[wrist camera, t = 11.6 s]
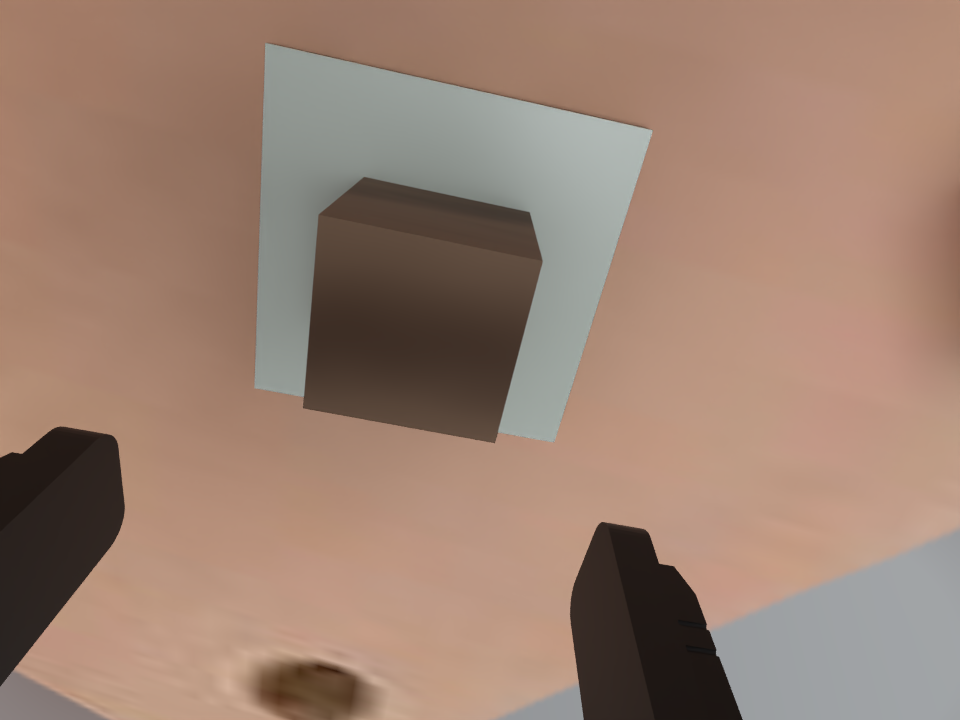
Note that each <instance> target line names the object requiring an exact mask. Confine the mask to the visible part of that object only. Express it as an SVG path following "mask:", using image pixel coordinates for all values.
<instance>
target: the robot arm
mask: <svg viewBox="0 0 960 720" xmlns="http://www.w3.org/2000/svg"><path fill="white" fill-rule="evenodd" d="M124 510H125V505H124V495H123V486H122V477H121V468H120V459H119V449H118V443H117V441H116V439H115V438H114V437H113V436H112V435H108V434H103V433H97V432H91V431H86V430H80V429H74V428H68V427H57V428H54V429H52V430H51V431H49V432H48V433H47V434H46V435H44V436H43V437H42V438H41V439H40V440H38V441H37V442H36V443H35V444H34V445H32V446H31V447H30V448H29V449H28V450H26V451H25V452H24V453H23V454H19V453H13V452H12V453H10V454H7V455H5V456H3V457H1V458H0V686H1V685H2V684H3V682H4V681H5V680H6V679H7V677H8V676H9V675H10V673H11V672H12V671H13V670H14V668H15V667H16V666H17V665H18V663H19V662H20V661H21V660H22V658H23V657H24V656H25V654H26V653H27V652H28V651H29V649H30V648H31V647H32V646H33V644H34V643H35V642H36V641H37V639H38V638H39V637H40V636H41V634H42V633H43V632H44V630H45V629H46V628H47V627H48V625H49V624H50V623H51V622H52V620H53V619H54V618H55V617H56V615H57V614H58V613H59V611H60V610H61V609H62V608H63V606H64V605H65V604H66V603H67V601H68V600H69V599H70V598H71V596H72V595H73V594H74V592H75V591H76V590H77V589H78V587H79V586H80V585H81V584H82V582H83V581H84V580H85V579H86V577H87V576H88V575H89V573H90V572H91V571H92V570H93V568H94V567H95V566H96V565H97V563H98V562H99V561H100V560H101V558H102V557H103V556H104V555H105V553H106V552H107V551H108V549H109V548H110V547H111V545H112V544H113V542H114V541H115V539H116V537H117V535H118V533H119V531H120V528H121V525H122V522H123V518H124ZM570 619H571V628H572V635H573V642H574V650H575V657H576V665H577V672H578V679H579V687H580V694H581V702H582V708H583V717H584V720H743V719H742V717H741V714H740V711H739V709H738V706H737V703H736V701H735V698H734V695H733V693H732V690H731V687H730V685H729V682H728V679H727V677H726V674H725V672H724V669H723V666H722V664H721V661H720V658H719V657H718V656H716V647H715V645H714V642H713V640H712V637H711V634H710V632H709V630H707V629H706V625H707V624H706V621H705V618H704V616H703V613H702V610H701V608H700V605H699V602H698V600H697V597H696V594H695V593H694V592H693V590H692V589H691V588H690V586H689V585H688V584H687V583H686V581H685V580H684V579H683V577H682V576H681V575H680V574H679V572H678V571H677V570H676V568H675V567H674V566H669V565H663V564H659V562H658V559H657V556H656V553H655V550H654V547H653V544H652V541H651V538H650V535H649V533H648V532H647V531H646V530H644V529H640V528H634V527H629V526H623V525H617V524H611V523H605V522H601V523H600V524H599V525H598V526H597V528H596V530H595V533H594V535H593V538H592V540H591V543H590V545H589V548H588V550H587V553H586V555H585V558H584V560H583V563H582V565H581V568H580V570H579V573H578V575H577V578H576V580H575V583H574V587H573V591H572V596H571V606H570Z"/></svg>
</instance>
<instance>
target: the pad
mask: <svg viewBox="0 0 960 720" xmlns="http://www.w3.org/2000/svg"><path fill="white" fill-rule="evenodd" d="M652 132H653V130H650V129H647V128H643V127H638V126H634V125H629V124H625V123H620V122H616V121H612V120H607V119H603V118H598V117H594V116H589V115H585V114H581V113H576V112H572V111H567V110H563V109H558V108H554V107H550V106H545V105H541V104H536V103H532V102H527V101H523V100H519V99H514V98H510V97H505V96H501V95H496V94H492V93H488V92H483V91H479V90H474V89H470V88H465V87H461V86H457V85H452V84H448V83H443V82H439V81H434V80H430V79H426V78H421V77H417V76H412V75H408V74H403V73H399V72H395V71H390V70H386V69H381V68H377V67H372V66H368V65H364V64H359V63H355V62H350V61H346V60H341V59H337V58H333V57H328V56H324V55H319V54H315V53H310V52H306V51H302V50H297V49H293V48H288V47H284V46H279V45H275V44H269V43H265V73H264V104H263V136H262V168H261V199H260V231H259V263H258V294H257V326H256V358H255V388H257V389H262V390H268V391H273V392H279V393H284V394H290V395H295V396H301V397H304V390H305V378H306V365H307V352H308V340H309V327H310V315H311V302H312V290H313V277H314V264H315V252H316V239H317V227H318V215H319V214H320V213H321V212H322V211H323V210H325V209H326V208H327V207H328V206H330V205H331V204H332V203H333V202H334V201H336V200H337V199H338V198H339V197H340V196H342V195H343V194H344V193H345V192H346V191H348V190H349V189H350V188H351V187H353V186H354V185H355V184H356V183H357V182H359V181H360V180H361V179H362V178H363V177H367V178H372V179H377V180H381V181H386V182H391V183H395V184H400V185H405V186H409V187H414V188H419V189H423V190H428V191H433V192H437V193H442V194H447V195H451V196H456V197H461V198H465V199H470V200H475V201H480V202H484V203H489V204H494V205H498V206H503V207H508V208H512V209H517V210H522V211H526V212H530V215H531V219H532V223H533V226H534V230H535V234H536V237H537V241H538V245H539V249H540V252H541V256H542V260H543V263H542V267H541V270H540V274H539V278H538V282H537V286H536V289H535V293H534V297H533V301H532V305H531V308H530V312H529V316H528V320H527V324H526V327H525V331H524V335H523V339H522V343H521V346H520V350H519V354H518V358H517V361H516V365H515V369H514V373H513V377H512V380H511V384H510V388H509V392H508V396H507V399H506V403H505V407H504V411H503V415H502V418H501V422H500V426H499V430H498V432H499V433H504V434H510V435H515V436H521V437H526V438H532V439H537V440H543V441H548V442H554V441H555V438H556V435H557V432H558V429H559V426H560V422H561V419H562V416H563V413H564V410H565V407H566V403H567V400H568V397H569V394H570V391H571V388H572V384H573V381H574V378H575V375H576V372H577V369H578V366H579V362H580V359H581V356H582V353H583V350H584V347H585V343H586V340H587V337H588V334H589V331H590V328H591V324H592V321H593V318H594V315H595V312H596V309H597V305H598V302H599V299H600V296H601V293H602V290H603V287H604V283H605V280H606V277H607V274H608V271H609V268H610V264H611V261H612V258H613V255H614V252H615V249H616V245H617V242H618V239H619V236H620V233H621V230H622V227H623V223H624V220H625V217H626V214H627V211H628V208H629V204H630V201H631V198H632V195H633V192H634V189H635V185H636V182H637V179H638V176H639V173H640V170H641V166H642V163H643V160H644V157H645V154H646V151H647V148H648V144H649V141H650V138H651V135H652Z"/></svg>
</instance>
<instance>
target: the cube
mask: <svg viewBox="0 0 960 720" xmlns="http://www.w3.org/2000/svg"><path fill="white" fill-rule="evenodd" d="M542 263H543V260H542V256H541V252H540V249H539V245H538V241H537V237H536V234H535V230H534V226H533V223H532V219H531V215H530V212H526V211H522V210H517V209H512V208H508V207H503V206H498V205H494V204H489V203H484V202H480V201H475V200H470V199H465V198H461V197H456V196H451V195H447V194H442V193H437V192H433V191H428V190H423V189H419V188H414V187H409V186H405V185H400V184H395V183H391V182H386V181H381V180H377V179H372V178H367V177H363V178H362V179H361V180H360V181H359V182H357V183H356V184H355V185H354V186H353V187H351V188H350V189H349V190H348V191H346V192H345V193H344V194H343V195H342V196H340V197H339V198H338V199H337V200H336V201H334V202H333V203H332V204H331V205H330V206H328V207H327V208H326V209H325V210H323V211H322V212H321V213H320V214H319V215H318V227H317V239H316V252H315V264H314V277H313V290H312V302H311V315H310V327H309V340H308V352H307V365H306V378H305V390H304V403H303V408H305V409H310V410H316V411H321V412H327V413H332V414H338V415H343V416H349V417H354V418H360V419H365V420H371V421H376V422H382V423H387V424H393V425H398V426H404V427H409V428H415V429H420V430H426V431H431V432H437V433H442V434H448V435H453V436H459V437H464V438H470V439H475V440H481V441H486V442H492V443H495V441H496V437H497V434H498V430H499V426H500V422H501V418H502V415H503V411H504V407H505V403H506V399H507V396H508V392H509V388H510V384H511V380H512V377H513V373H514V369H515V365H516V361H517V358H518V354H519V350H520V346H521V343H522V339H523V335H524V331H525V327H526V324H527V320H528V316H529V312H530V308H531V305H532V301H533V297H534V293H535V289H536V286H537V282H538V278H539V274H540V270H541V267H542Z"/></svg>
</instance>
